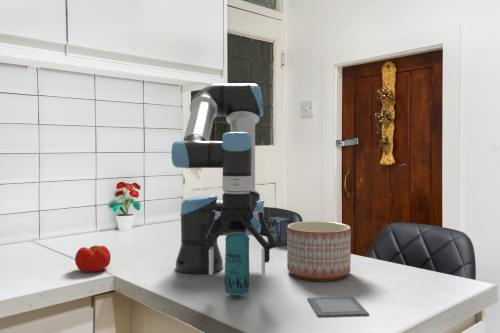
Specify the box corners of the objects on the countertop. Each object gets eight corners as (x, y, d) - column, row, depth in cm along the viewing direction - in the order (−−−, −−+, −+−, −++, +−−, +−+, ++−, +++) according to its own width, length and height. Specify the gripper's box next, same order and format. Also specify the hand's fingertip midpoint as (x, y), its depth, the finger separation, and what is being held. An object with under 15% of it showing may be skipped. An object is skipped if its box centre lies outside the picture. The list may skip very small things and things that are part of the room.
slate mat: (317, 316, 102) (317, 314, 102) (307, 299, 114) (307, 297, 114) (368, 315, 103) (369, 313, 103) (353, 298, 115) (353, 296, 115)
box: (267, 243, 182) (267, 217, 182) (277, 241, 186) (277, 216, 185) (280, 246, 176) (280, 220, 176) (290, 244, 180) (290, 218, 179)
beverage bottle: (224, 293, 119) (223, 218, 118) (249, 292, 120) (248, 218, 119) (224, 301, 113) (224, 222, 112) (251, 300, 113) (250, 222, 112)
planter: (336, 287, 124) (337, 234, 124) (276, 276, 135) (276, 227, 134) (358, 271, 141) (359, 224, 140) (303, 263, 151) (303, 219, 150)
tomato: (77, 276, 135) (77, 252, 135) (73, 268, 145) (73, 245, 144) (114, 272, 140) (113, 248, 140) (107, 264, 149) (107, 242, 149)
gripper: (186, 193, 113) (186, 276, 113) (285, 194, 110) (285, 279, 111) (192, 190, 120) (193, 268, 121) (285, 191, 118) (285, 271, 118)
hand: (237, 274), depth 116 cm, fingers open, 13 cm apart
